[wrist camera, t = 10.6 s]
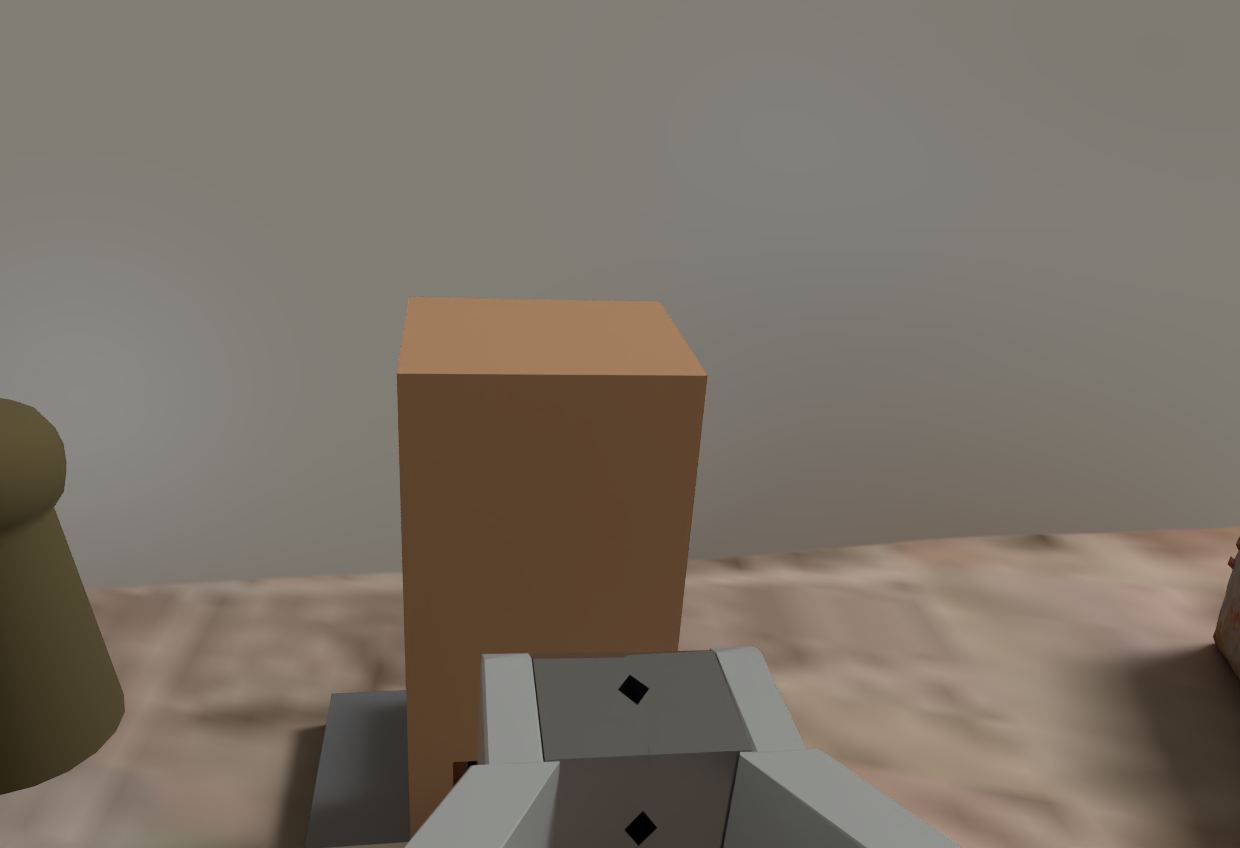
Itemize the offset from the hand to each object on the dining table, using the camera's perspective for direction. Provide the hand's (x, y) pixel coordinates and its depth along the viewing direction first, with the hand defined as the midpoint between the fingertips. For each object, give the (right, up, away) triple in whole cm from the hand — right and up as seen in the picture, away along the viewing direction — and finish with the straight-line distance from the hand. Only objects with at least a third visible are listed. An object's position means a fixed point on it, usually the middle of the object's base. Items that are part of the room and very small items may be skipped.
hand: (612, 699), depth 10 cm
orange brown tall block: (-2, -8, +16) cm, 18 cm away
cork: (-19, -7, +21) cm, 29 cm away
